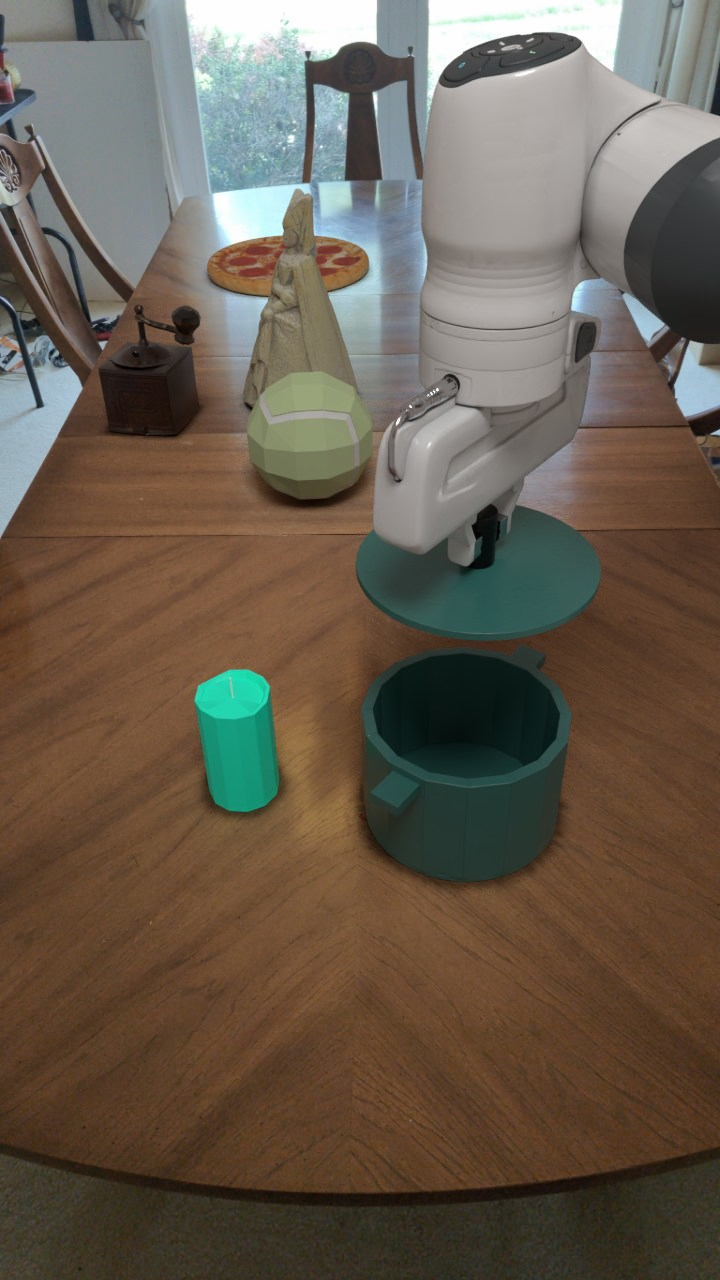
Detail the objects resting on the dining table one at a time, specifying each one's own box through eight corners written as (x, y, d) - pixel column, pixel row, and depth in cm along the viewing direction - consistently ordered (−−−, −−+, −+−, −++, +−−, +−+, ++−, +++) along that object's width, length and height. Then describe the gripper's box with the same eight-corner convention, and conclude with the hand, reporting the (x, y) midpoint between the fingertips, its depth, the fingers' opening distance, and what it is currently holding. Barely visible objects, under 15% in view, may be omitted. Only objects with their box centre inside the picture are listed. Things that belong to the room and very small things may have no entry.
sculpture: (214, 376, 150) (276, 173, 136) (322, 405, 158) (390, 216, 145) (239, 419, 137) (309, 199, 123) (355, 448, 145) (433, 245, 132)
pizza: (402, 268, 195) (402, 253, 194) (284, 310, 177) (283, 294, 176) (292, 238, 213) (291, 225, 211) (175, 274, 195) (173, 260, 193)
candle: (276, 757, 86) (264, 650, 79) (283, 806, 82) (272, 697, 74) (207, 766, 86) (190, 659, 78) (211, 817, 81) (192, 708, 74)
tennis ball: (377, 518, 119) (375, 401, 109) (253, 525, 118) (240, 408, 109) (367, 460, 130) (365, 351, 121) (255, 466, 130) (244, 357, 121)
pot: (605, 771, 84) (622, 677, 78) (472, 941, 71) (480, 845, 65) (450, 700, 92) (454, 609, 86) (305, 841, 79) (297, 746, 72)
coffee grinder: (105, 434, 139) (80, 306, 128) (135, 401, 147) (114, 279, 136) (209, 442, 136) (193, 313, 125) (234, 409, 144) (221, 285, 133)
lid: (640, 559, 70) (652, 495, 67) (519, 682, 60) (527, 613, 56) (442, 492, 78) (445, 432, 75) (306, 589, 68) (302, 524, 65)
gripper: (438, 426, 51) (431, 637, 60) (614, 314, 64) (588, 501, 72) (343, 398, 54) (350, 602, 63) (529, 296, 67) (514, 477, 75)
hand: (479, 547), depth 68 cm, fingers closed on lid, 2 cm apart
